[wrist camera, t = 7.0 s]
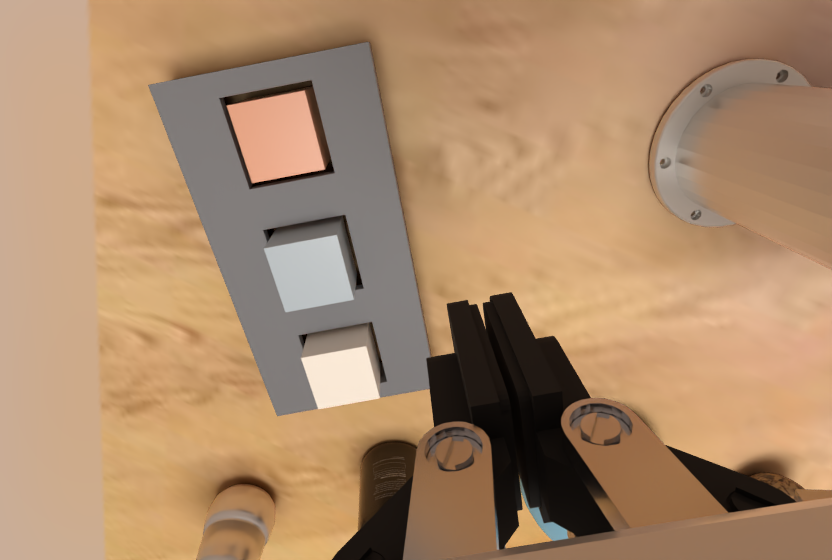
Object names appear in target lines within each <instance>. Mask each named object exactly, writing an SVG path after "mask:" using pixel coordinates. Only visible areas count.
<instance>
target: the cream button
mask: <svg viewBox="0 0 832 560" xmlns="http://www.w3.org/2000/svg"><path fill="white" fill-rule="evenodd" d="M301 360H302V363H303V366H304V369H305V372H306V375H307V378H308V380H309V383H310V386H311V389H312V392H313V395H314V398H315V401H316V404H317V407H318V409H323V408H328V407H334V406H340V405H345V404H351V403H356V402H362V401H367V400H373V399H378V398H380V362H379V358H378V354H377V350H376V347H375V343H374V339H373V335H372V331H371V327H370V323H369V322H368V323H363V324H357V325H352V326H346V327H341V328H335V329H330V330H325V331H319V332H314V333H308V334H307V338H306V341H305V345H304V349H303V352H302V356H301Z"/></svg>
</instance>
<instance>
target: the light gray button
mask: <svg viewBox="0 0 832 560" xmlns="http://www.w3.org/2000/svg"><path fill="white" fill-rule="evenodd" d="M264 251H265V254H266V256H267V259H268V262H269V265H270V268H271V271H272V274H273V277H274V280H275V283H276V286H277V289H278V292H279V295H280V298H281V301H282V304H283V307H284V310H285V312H291V311H296V310H301V309H307V308H312V307H318V306H323V305H328V304H334V303H339V302H345V301H350V300H354V295H355V287H356V279H357V272H356V268H355V264H354V260H353V256H352V252H351V248H350V244H349V240H348V236H347V232H346V228H345V224H344V220H343V216H342V215H340V216H335V217H330V218H325V219H319V220H314V221H309V222H303V223H298V224H293V225H287V226H282V227H277V228H276V230H275V231H274V233H273V235H272V236H271V238H270V239H269V241H268V243H267V244H266V246H265V247H264Z"/></svg>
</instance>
